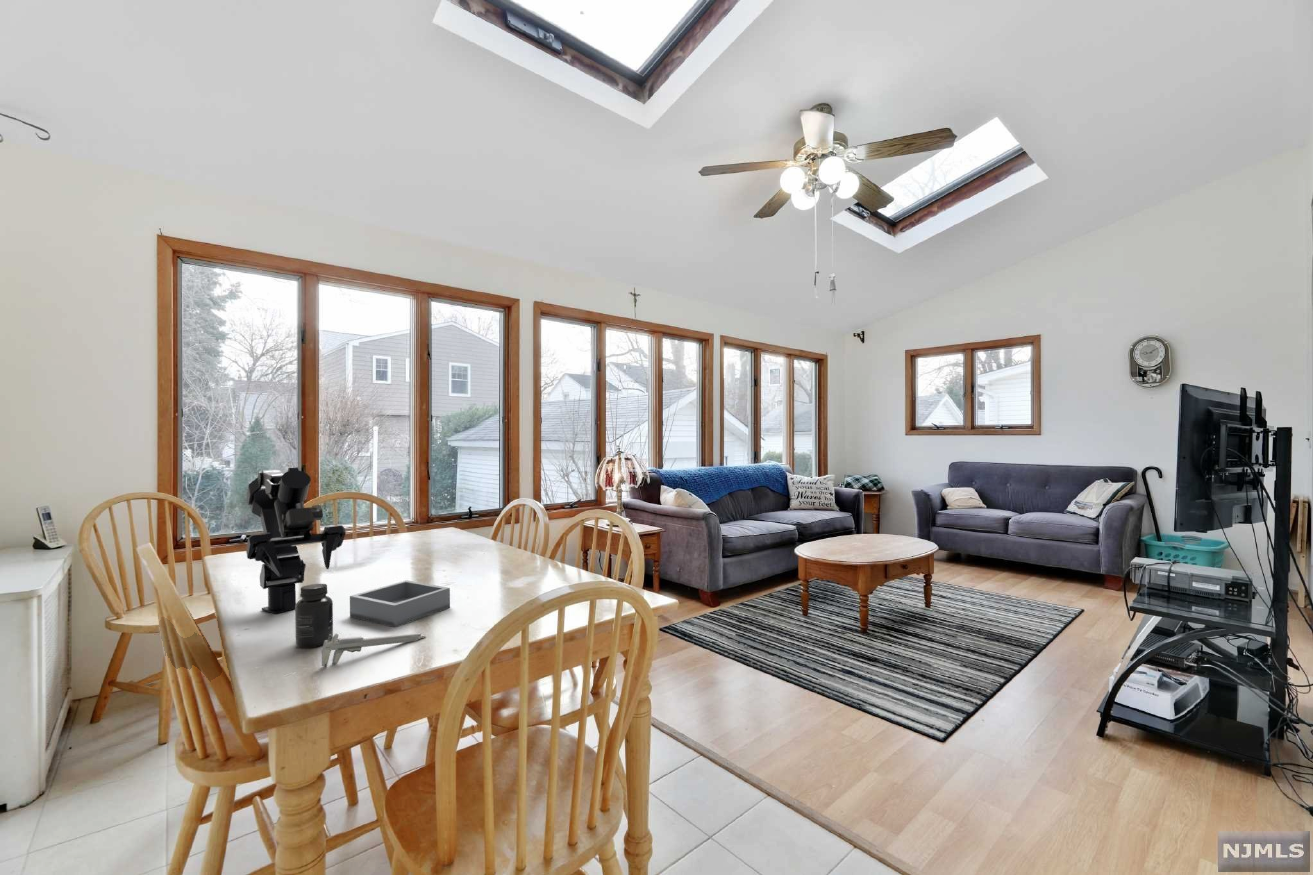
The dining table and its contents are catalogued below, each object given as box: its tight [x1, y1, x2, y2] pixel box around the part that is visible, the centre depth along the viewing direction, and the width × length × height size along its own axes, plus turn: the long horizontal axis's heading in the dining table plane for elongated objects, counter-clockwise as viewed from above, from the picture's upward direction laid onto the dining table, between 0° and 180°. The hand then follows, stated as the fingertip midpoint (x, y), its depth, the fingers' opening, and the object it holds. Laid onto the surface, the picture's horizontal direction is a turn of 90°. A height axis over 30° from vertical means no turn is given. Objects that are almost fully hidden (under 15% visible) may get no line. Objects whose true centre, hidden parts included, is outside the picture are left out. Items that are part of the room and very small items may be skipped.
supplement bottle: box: [294, 583, 334, 649], centre depth 120 cm, size 7×7×12 cm
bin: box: [349, 579, 451, 628], centre depth 140 cm, size 16×16×5 cm
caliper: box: [321, 632, 427, 669], centre depth 116 cm, size 20×1×6 cm, turn 141°
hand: (304, 571), depth 126 cm, fingers open, 9 cm apart
